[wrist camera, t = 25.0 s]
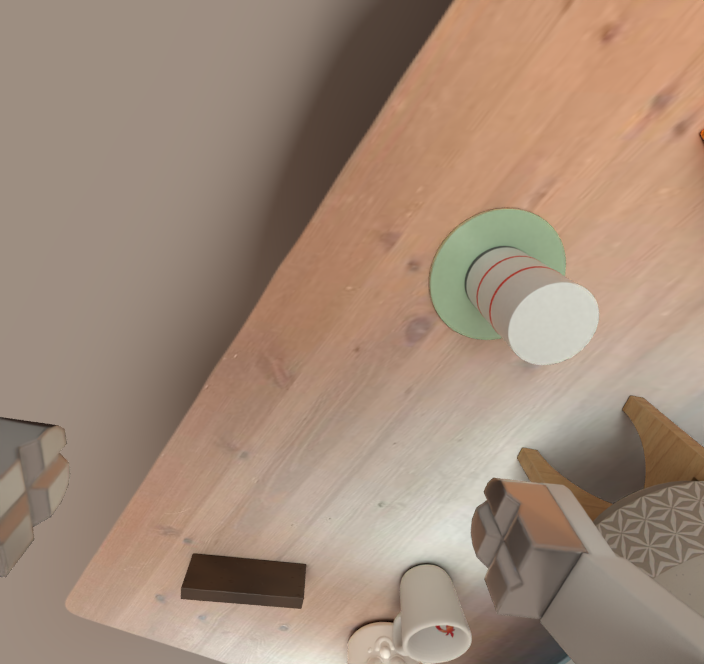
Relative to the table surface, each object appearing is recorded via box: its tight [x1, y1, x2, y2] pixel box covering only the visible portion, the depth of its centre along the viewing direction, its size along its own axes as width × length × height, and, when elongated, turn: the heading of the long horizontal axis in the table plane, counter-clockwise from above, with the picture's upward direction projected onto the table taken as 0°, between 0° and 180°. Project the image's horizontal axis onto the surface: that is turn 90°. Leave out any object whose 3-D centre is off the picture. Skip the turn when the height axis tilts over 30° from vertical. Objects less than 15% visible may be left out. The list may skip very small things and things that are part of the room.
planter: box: [517, 396, 704, 618], centre depth 35 cm, size 19×19×26 cm
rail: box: [181, 554, 306, 609], centre depth 49 cm, size 14×2×4 cm, turn 79°
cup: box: [392, 564, 472, 663], centre depth 50 cm, size 11×8×8 cm
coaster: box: [429, 208, 566, 340], centre depth 36 cm, size 12×12×1 cm
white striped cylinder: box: [465, 246, 599, 365], centre depth 31 cm, size 6×11×11 cm
